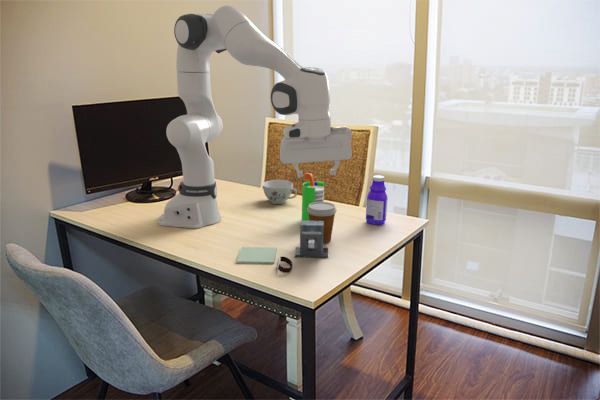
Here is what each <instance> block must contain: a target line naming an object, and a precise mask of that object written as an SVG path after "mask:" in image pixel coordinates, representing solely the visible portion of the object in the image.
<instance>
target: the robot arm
mask: <svg viewBox="0 0 600 400" xmlns="http://www.w3.org/2000/svg"><path fill="white" fill-rule="evenodd" d="M173 29H174V31H173V35H174V38H175V41H176V42H177V44H178V45H177V51H176V84H177V95H178V97H179V98H180V99H181V100H182V101H183V103H184V106H185V108H186V114H182V115H179V116H178V117H176V118H174V119H172V120H170V122H169V123H168V124H167V126H166V132H165V133H166V138H167V140H168V142H169V143H170V144H171V145H172V146H173V147H175V149H176V151H177V153H178V155H179V159H180V162H181V169H182V180H181V181H180V182H179V185H178V187H177V191H178V193H177V194H176V195H175V196H174V197H172V198H171V199H170V200H169V201H168V202H167V203H166V204H165V207H164V211H163V214H161V215H160V216H159V217H158V219H157V224H158V225H159V226H164V227H165V226H166V227H176V228H187V229H199V228H202V227H205V226H210V225H214V224H216V223H218V222H220V221H221V220H222V217H221V213H220V210H219V207H218V202H217V196H218V189H217V188H218V187H217V182H216V181H215V179H216V178H215V162H214V160H213V158H212V157H210V155H209V154H208V151H207V147H206V143H209V142H213V140H215V139H216V138H217V137H219V136H220V135H221V134H222V132H223V129H224V123H223V120H222V118H221V117H220V115H219V114H218V113H217V111H216V108H215V105H214V101H213V96H212V85H211V84H212V83H211V66H210V65H211V64H210V63H211V61H210V59H211V55H213V53H214V52H215V53H217V54H220V53H223V52H226V51H227V52H228V53H229V54H230V56H231V57H232V58H234V59H235V60H236V61H237V62H238V63H240V64H242V65H245V66H252V67H259V68H265V69H270V70H271V71H274V72H276V73H278V74H279V75H280V76H281V77H282V78H283V79H284V80H281V81H279V82H276V83H275V84H274V85H273V86H272V89H271V92H270V103H271V106H272V108H273V110H274V111H275V112H276V113H278V115H281V116H292V115H298V122H296V123H295V122H294V123H293V124H290V125H288V126H284V128H283V130H282V133H283V137H282V138H281V140H280V141H281V142H280V145H279V147H280V148H279V149H280V150H279V160H280V162H281V163H282V164H283V165H288V164H289V165H290V164H292V166H293V169H294V171H296V175H297V179H304V173H303V170H299V168H298V167H299V164H305V163H321V162H331V161H332V162H333V163H334V165H333V166H332V168H330V169H329V175H330V176H331V177H336V176H337V170H338V168H339V166H340V163H341V162H340V161H348V160H351V158H352V157H353V152H352V144H351V141H352V139H353V131H352V129H350V128H349V127H347V126H332V125H331V124H332V122H331V120H332V119H331V113H330V104H331V91H330V90H331V89H330V82H329V78H328V75H327V72H326V71H325V70H324V69H322V68H319V67H309V66H308V67H307V66H306V67H303V66H302V65H301V64H300V62H298V61H297V60H296V59H295V58H294V57H292V56H291V55H290V54H289V53H288V52H287V51H286V50H284V48H283V47H281V46H280V45H278V44H277V43H275V42H274V41H272V40H271V39H270V38H268V37H267V36H266V35H265V34H264V33H263V32H262V31H261V30H260V29H259V28H258V27H256V25H255V24H254V23H253V22H252V20H250V19H249V17H247V16H246V15H245V14H244V13H243V12H241V11H240V10H239V9H237V8H236V7H235V6H233V5H228V4H226V5H222V6H220V7H218V8H217V9H216V11H214V13H202V14H200V13H198V14H196V13H187V14H183V15H180V16H179V17H178V18H177V19H176V21H175V23H174V28H173Z"/></svg>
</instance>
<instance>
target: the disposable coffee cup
mask: <svg viewBox="0 0 600 400" xmlns="http://www.w3.org/2000/svg"><path fill="white" fill-rule="evenodd" d="M307 211H308V213H309V221H324V235H323V245H325V244H329V243H330V242H331V240H332V235H333V229H334V222H335V214H336V212H337V208H336V205H335V204H334V203H332V202H328V201H327V202H326V201H324V202H314V203H311V204H309V206H308V208H307Z"/></svg>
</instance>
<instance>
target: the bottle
mask: <svg viewBox="0 0 600 400" xmlns="http://www.w3.org/2000/svg"><path fill="white" fill-rule="evenodd" d="M386 190H387V187H386V185H385V176H384V175H381V174H380V175H379V174H377V175H373V176H372V183H371V185H370V186H369V192H368V194H367V195H366V208H365V210H366V211H365V220H366V222H367V223H368V224H371V225H376V226H377V225H379V226H380V225H384V224H385V223H386V220H387V211H388V195H387V193H386Z"/></svg>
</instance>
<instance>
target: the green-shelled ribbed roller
mask: <svg viewBox="0 0 600 400" xmlns="http://www.w3.org/2000/svg"><path fill="white" fill-rule="evenodd" d="M314 177H315V176H314V175H313V173H311V172H305V173H304V174H303V179H304V180H309V181H307V182H303V183H302V186H301V187H302V189H301V190H302V192H301V221H309V213H308V211H307V208H308V206H309V204H311V203H314V202H325V182H323V181H315V178H314Z"/></svg>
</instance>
